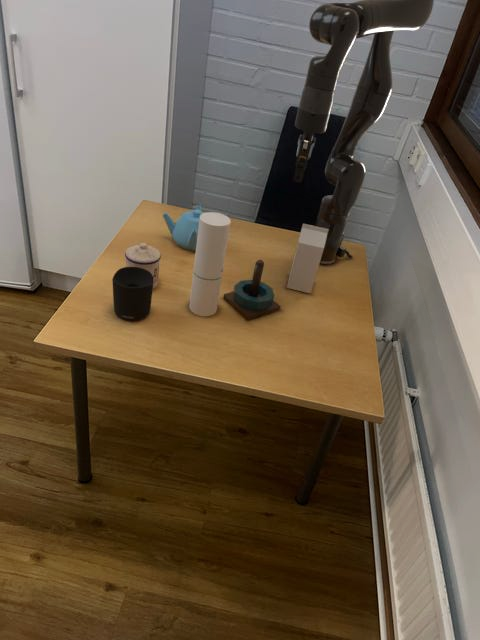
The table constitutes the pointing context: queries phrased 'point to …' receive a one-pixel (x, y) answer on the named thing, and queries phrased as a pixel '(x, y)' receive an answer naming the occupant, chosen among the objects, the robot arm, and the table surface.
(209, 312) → the cylindrical container
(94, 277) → the table surface
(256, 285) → the stand
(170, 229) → the teapot
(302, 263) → the milk carton
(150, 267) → the teacup with lid
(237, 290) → the ring
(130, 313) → the pen holder
